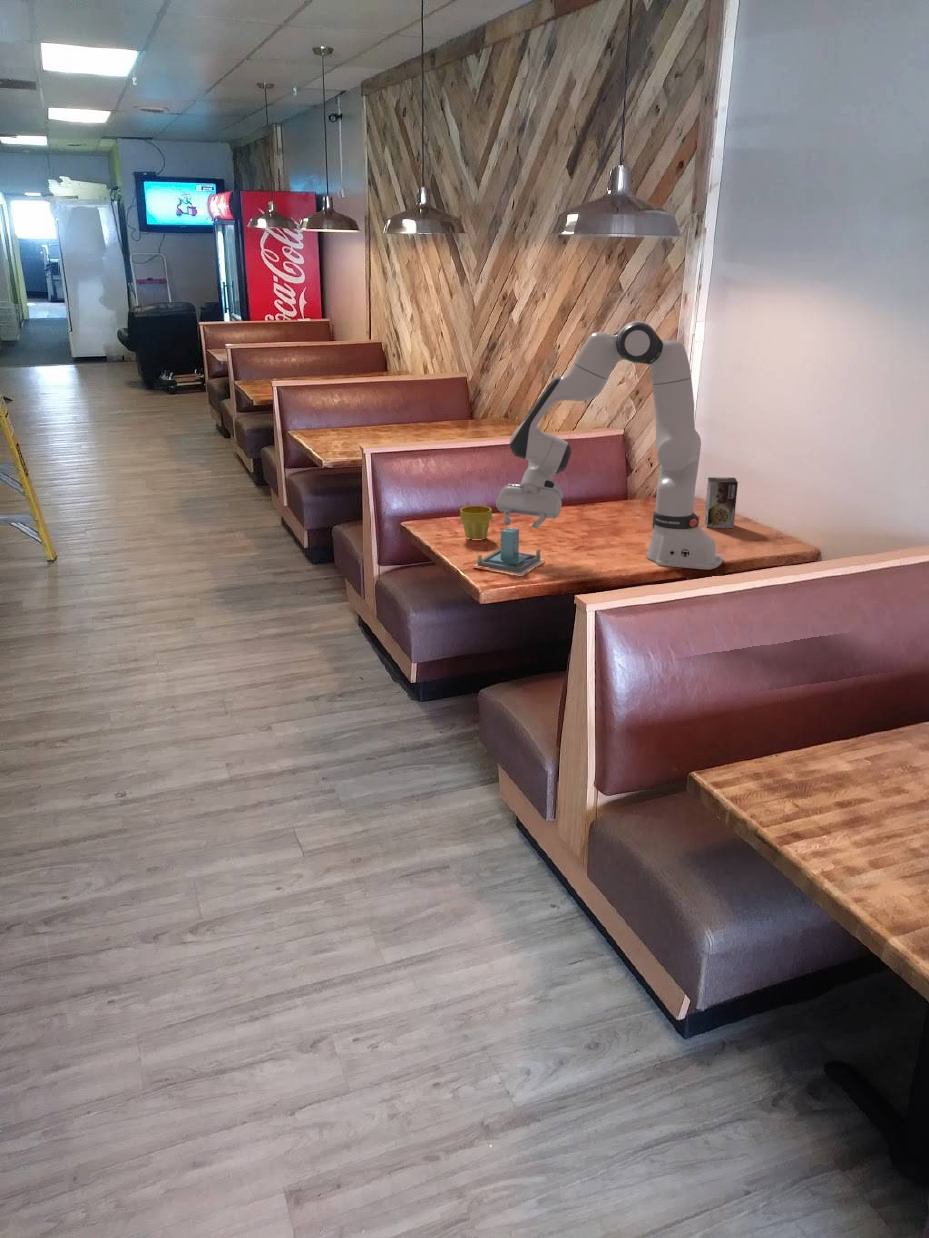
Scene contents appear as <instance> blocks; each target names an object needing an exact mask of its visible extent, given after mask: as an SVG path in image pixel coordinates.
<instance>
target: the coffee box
mask: <svg viewBox="0 0 929 1238" xmlns="http://www.w3.org/2000/svg"><path fill="white" fill-rule="evenodd" d="M738 485H739V482H738V480H737V478H736V477H707V487H706V497H705V498H706V499H705V510H704V511H705V512H704V522H703V523H704V525H705V528H707V527H710V528H709V529H734V527H735V517H736V506H737V494H738Z"/></svg>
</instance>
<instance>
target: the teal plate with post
mask: <svg viewBox="0 0 929 1238" xmlns="http://www.w3.org/2000/svg"><path fill="white" fill-rule="evenodd" d="M519 539H520V529H518V528H513V527H506V528H503V529H502V530H501V531H500V550H501V553H500V554H498V555H496V556H495V557H493V558H491V559H490V560H489V563H495V564H501V565H507V566H513V567H520V566H522V565H523V564H525V563H526V562H528V561H530V556H527V555H521V554H519V553H520V547H519V546H520V540H519Z"/></svg>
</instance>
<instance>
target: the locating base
mask: <svg viewBox="0 0 929 1238" xmlns="http://www.w3.org/2000/svg"><path fill="white" fill-rule="evenodd" d="M535 550H536V552H535V554H531V553H525V552H519V554H521V555H527V556H530V561H528V562H526V563H525V564H523V565H522V566H520V567H513V566H507V565H501V564H495V563H489V560H490V559H491V558H493V557H495V556H496V555H498V554H500V553H501V548H498V549H497V550H496V551H494V552H491V553H490V554H488V555H487V556H485V557H484V558H482V557H483V555H482V554H477V563H476V564H474V565H473V566H483V567H489V568H490V569H492V570H498V571H503V572H508V573H513V574H517V575H521V576H522V575H524V574H525V573H526V572H528V571H529V570H530V569H532V568H533V567H535V566H537V565H538V564H540V563H541V562H543V561H544V560H545V561H546V559H545V558H541V549H540V548H537V549H535ZM524 576H525V575H524Z"/></svg>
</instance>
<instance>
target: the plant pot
mask: <svg viewBox="0 0 929 1238" xmlns="http://www.w3.org/2000/svg"><path fill="white" fill-rule="evenodd" d="M492 510H493V509H492V508H491V507H489V506H485V505H468V506H463V507H461V508H460V510H459V518H460V521H461V522H462V525H463V529H464V533H465V534H464V535H465V538H466V537H467V538H470V539H483V538H486V537H488V532H489V528H490V522H491V520H492V518H493V516H492V515H493V511H492ZM467 538H466V539H467ZM486 539H487V538H486Z"/></svg>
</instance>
